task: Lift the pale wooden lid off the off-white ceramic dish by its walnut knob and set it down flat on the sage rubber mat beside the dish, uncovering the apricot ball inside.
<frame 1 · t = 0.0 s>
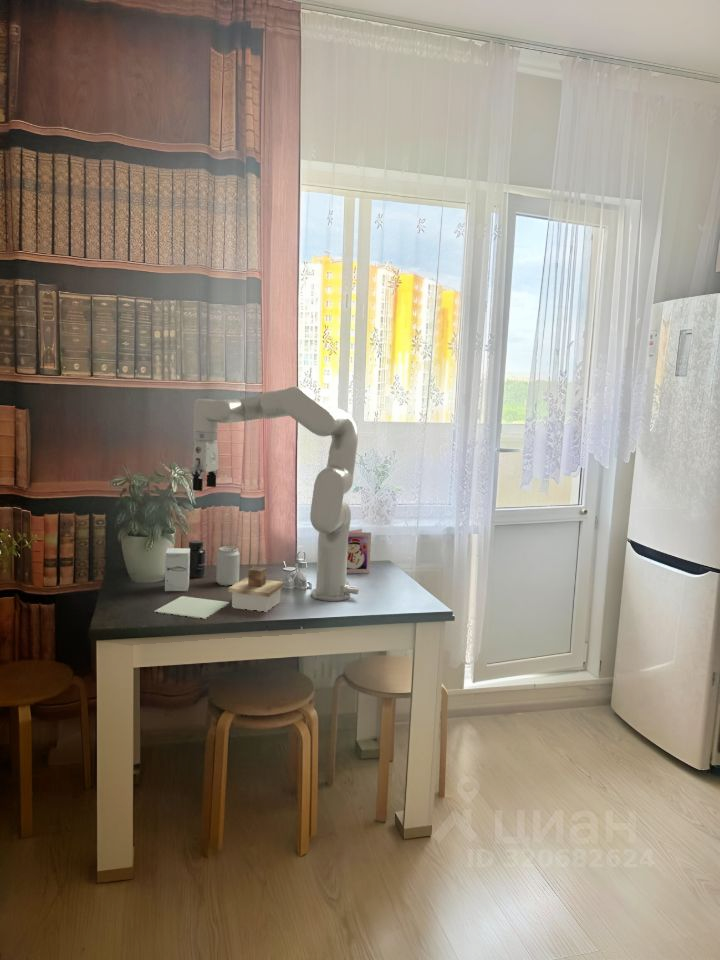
hand: (204, 488, 242), 31 cm above the table, tool pointing down, fingers open, 9 cm apart
greeting card: (352, 571, 267), on the table
supplement bottle: (195, 576, 251), on the table
lid: (256, 588, 222), point 5 cm above the table, touching dish
ball: (256, 596, 222), point 3 cm above the table, touching dish
dish: (256, 604, 222), on the table
can: (227, 583, 244), on the table
mat: (192, 607, 217), on the table
supplement box: (177, 589, 236), on the table
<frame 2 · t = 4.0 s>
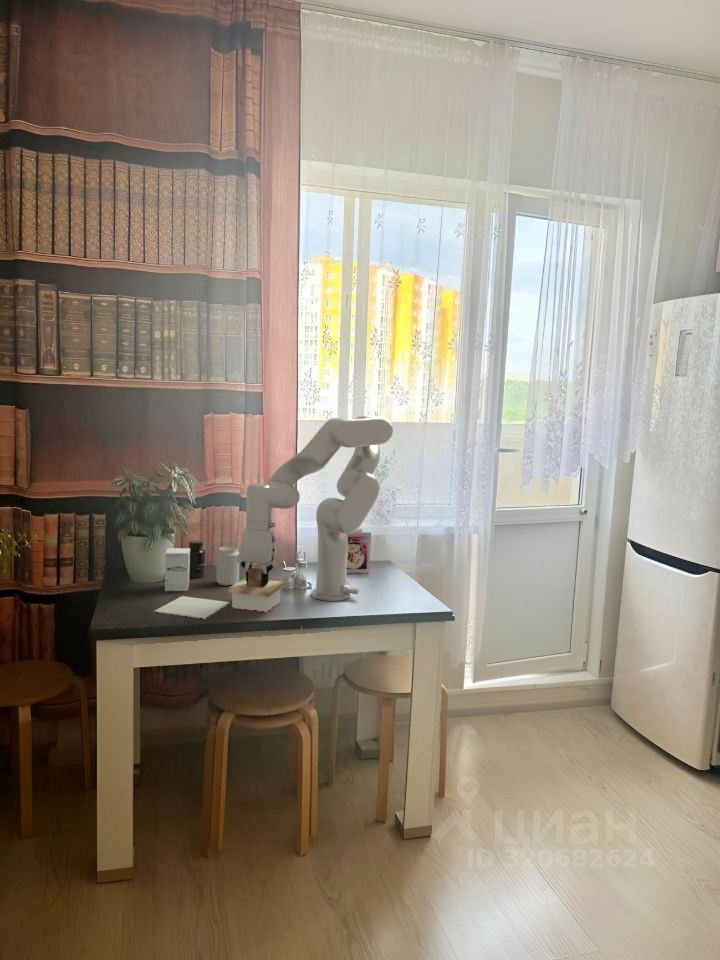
hand: (256, 583, 221), 7 cm above the table, tool pointing down, fingers closed on lid, 4 cm apart
lid: (256, 588, 222), point 5 cm above the table, touching dish, gripper
everything else where it was.
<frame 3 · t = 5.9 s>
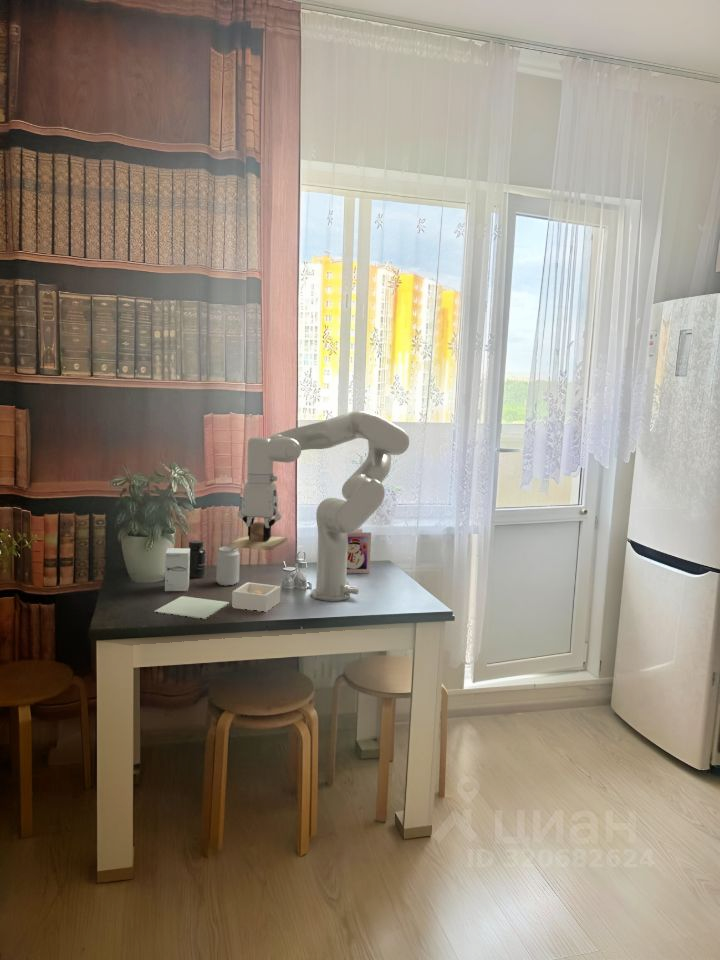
hand: (259, 538, 220), 20 cm above the table, tool pointing down, fingers closed on lid, 4 cm apart
lid: (259, 543, 220), point 19 cm above the table, touching gripper
everything else where it was.
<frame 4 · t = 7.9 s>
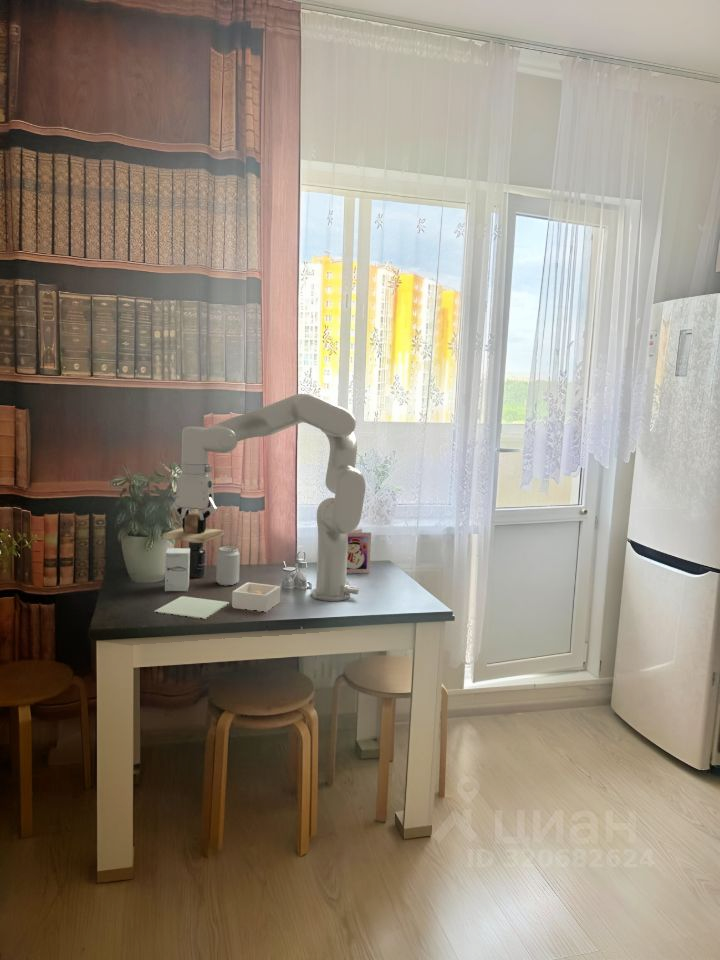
hand: (194, 531, 214), 23 cm above the table, tool pointing down, fingers closed on lid, 4 cm apart
lid: (194, 536, 214), point 22 cm above the table, touching gripper
everything else where it was.
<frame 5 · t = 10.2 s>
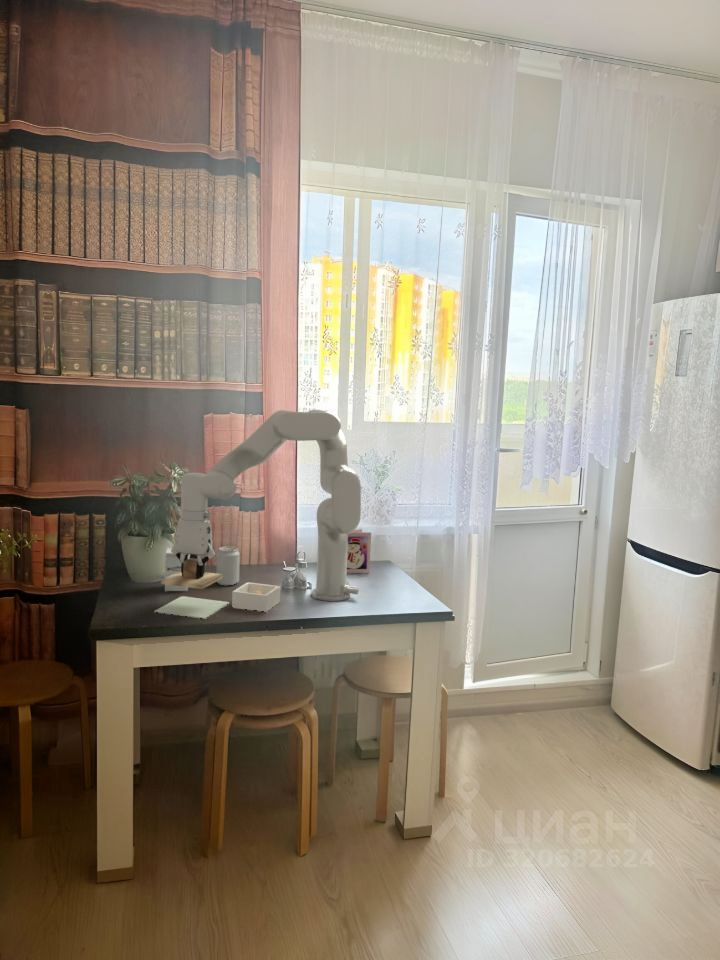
hand: (192, 576, 215), 10 cm above the table, tool pointing down, fingers closed on lid, 4 cm apart
lid: (192, 580, 215), point 8 cm above the table, touching gripper
everything else where it was.
when the fingers open (3 cm above the table, at t = 12.2 s): lid drops 2 cm, resting on mat.
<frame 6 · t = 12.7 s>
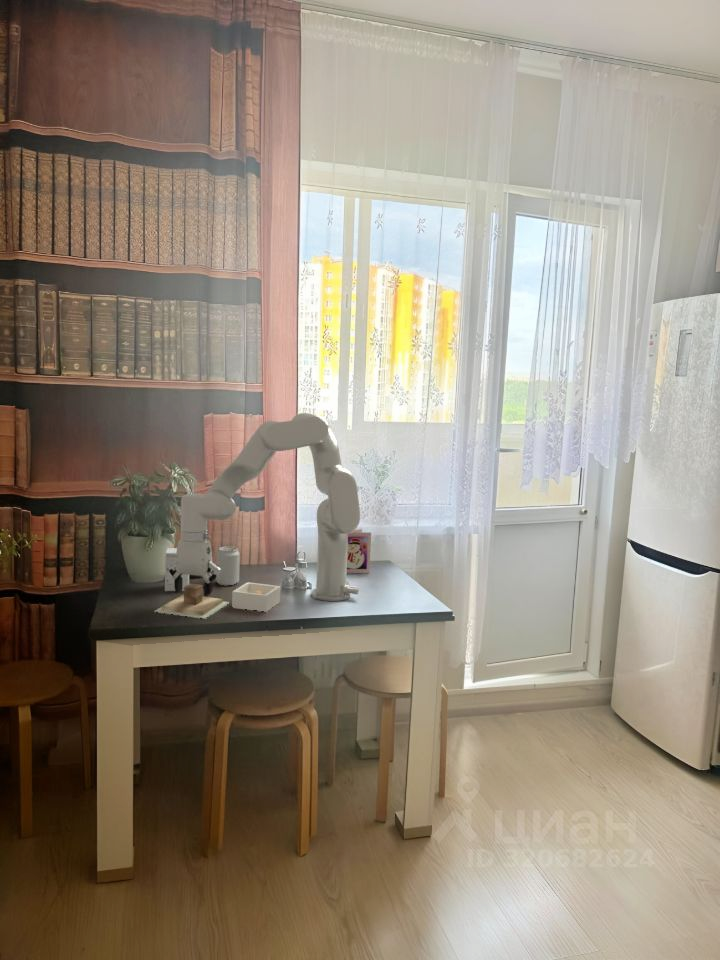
hand: (193, 593, 216), 4 cm above the table, tool pointing down, fingers open, 9 cm apart
lid: (193, 606, 217), resting on mat
everything else where it was.
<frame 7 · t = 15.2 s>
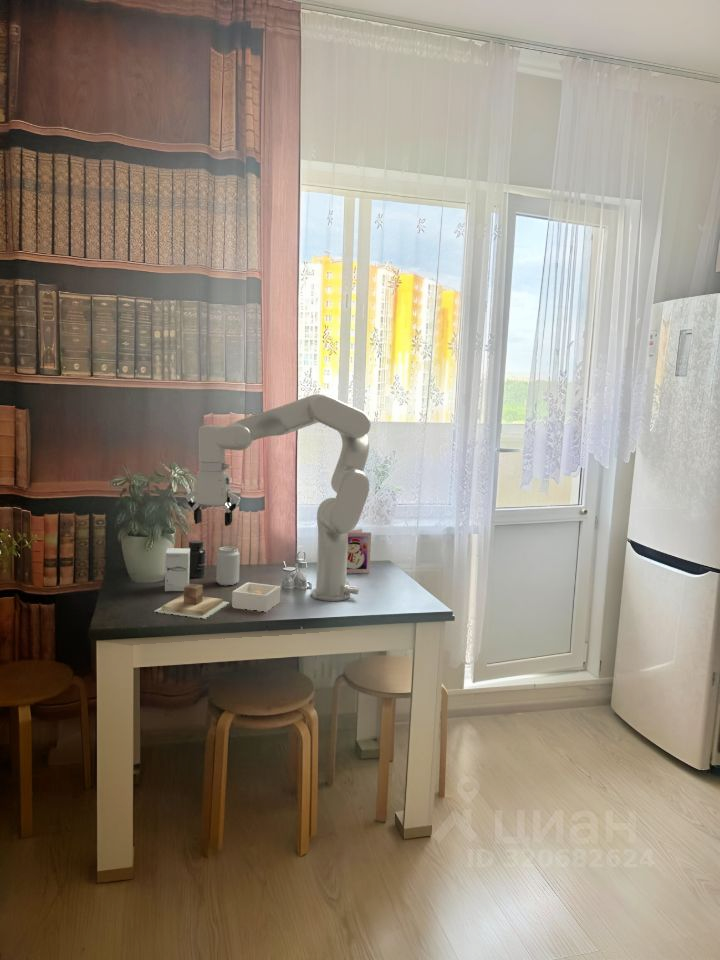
hand: (213, 524, 219), 24 cm above the table, tool pointing down, fingers open, 9 cm apart
nothing on the table moved.
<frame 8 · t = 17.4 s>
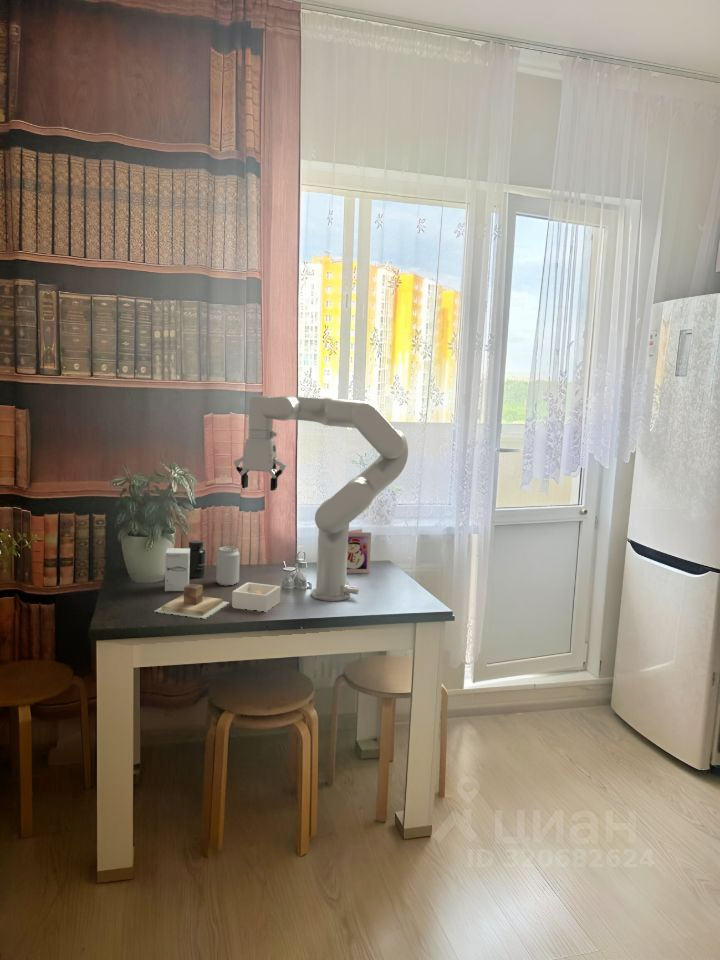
hand: (259, 488, 233), 33 cm above the table, tool pointing down, fingers open, 9 cm apart
nothing on the table moved.
at the end: lid inside the target area on the mat (0.0 cm from its centre), point 0.4 cm above the mat's base; lid tilted 0°; the gripper is holding nothing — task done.
